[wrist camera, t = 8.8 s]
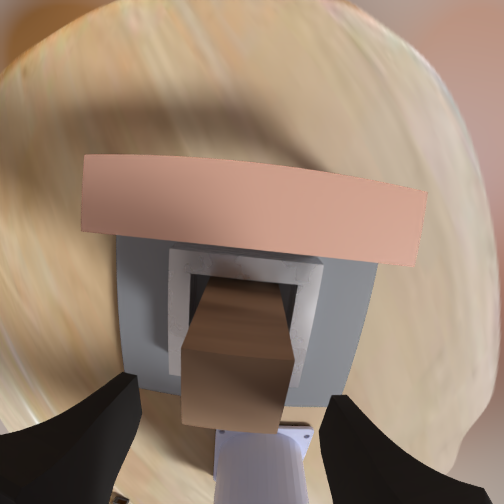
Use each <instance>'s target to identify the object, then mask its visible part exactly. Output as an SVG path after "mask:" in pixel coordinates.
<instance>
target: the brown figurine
mask: <svg viewBox="0 0 504 504" xmlns="http://www.w3.org/2000/svg"><path fill="white" fill-rule="evenodd" d="M128 503H129V500H128V499H124V498H120V497H116V498H115V499H114V501H113V504H128Z"/></svg>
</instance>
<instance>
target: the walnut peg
mask: <svg viewBox="0 0 504 504" xmlns="http://www.w3.org/2000/svg"><path fill="white" fill-rule="evenodd" d="M294 363H295V358H294V353H293V349H292V344H291V339H290V334H289V330H288V325H287V321H286V316H285V311H284V307H283V302H282V298H281V293H280V288H279V284H277V283H267V282H258V281H250V280H241V279H232V278H224V277H215V276H210V278H209V281H208V283H207V285H206V288H205V290H204V293H203V295H202V297H201V300H200V302H199V305H198V307H197V310H196V312H195V314H194V317H193V319H192V322H191V324H190V327H189V329H188V332H187V334H186V337H185V339H184V342H183V344H182V347H181V418H182V424H184V425H190V426H197V427H203V428H211V429H219V430H227V431H237V432H249V433H263V434H277V431H278V427H279V424H280V420H281V416H282V412H283V408H284V404H285V400H286V396H287V392H288V388H289V384H290V380H291V376H292V371H293V367H294Z"/></svg>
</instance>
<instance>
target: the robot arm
mask: <svg viewBox="0 0 504 504" xmlns="http://www.w3.org/2000/svg"><path fill="white" fill-rule="evenodd" d="M141 415H142V408H141V401H140V394H139V386H138V377H137V375H134V374H130V373H125V372H122V373H120V374H119V375H117V376H116V377H115V378H113V379H112V380H111V381H109V382H108V383H107V384H105V385H104V386H103V387H101V388H100V389H99V390H97V391H96V392H94V393H93V394H91V395H90V396H89V397H87V398H86V399H84V400H83V401H81V402H80V403H78V404H76V405H75V406H73V407H72V408H70V409H68V410H67V411H65V412H63V413H61V414H59V415H57V416H55V417H53V418H51V419H49V420H47V421H45V422H42V423H40V424H37V425H34V426H31V427H29V428H26V429H23V430H20V431H16V432H12V433H8V434H3V435H0V504H109V500H110V496H111V493H112V489H113V486H114V483H115V480H116V478H117V475H118V473H119V471H120V469H121V466H122V464H123V462H124V460H125V457H126V455H127V453H128V451H129V449H130V446H131V444H132V442H133V440H134V437H135V435H136V432H137V429H138V426H139V422H140V419H141ZM313 433H314V429H313V427H311V426H279V427H278V431H277V434H263V433H249V432H237V431H227V430H224V431H221V430H219V429H216V438H215V456H214V475H213V480H214V481H216V486H215V494H214V504H309V500H308V493H307V486H306V479H305V473H304V466H303V460H304V457H305V454H306V452H307V449H308V447H309V444H310V441H311V439H312V436H313ZM319 439H320V448H321V455H322V459H323V463H324V467H325V471H326V475H327V479H328V483H329V487H330V491H331V495H332V499H333V504H492V502H491V500H490V498H489V496H488V495H487V493H486V491H485V490H484V488H481V487H477V486H474V485H471V484H467V483H464V482H461V481H458V480H455V479H453V478H451V477H448V476H446V475H444V474H441V473H439V472H437V471H435V470H434V469H432V468H430V467H428V466H426V465H425V464H423V463H421V462H420V461H418V460H416V459H415V458H414V457H412V456H411V455H409V454H408V453H406V452H405V451H404V450H402V449H401V448H400V447H399V446H397V445H396V444H395V443H394V442H393V441H392V440H390V439H389V438H388V437H387V436H386V435H385V434H384V433H383V432H382V431H381V430H380V429H378V428H377V427H376V426H375V425H374V424H373V423H372V422H371V420H370V419H369V418H368V417H367V416H366V415H365V414H364V413H363V412H362V411H361V410H360V409H359V408H358V407H357V405H356V404H355V403H354V402H353V401H352V400H351V399H350V398H349V397H348V396H347V395H331V398H330V401H329V404H328V407H327V409H326V412H325V415H324V418H323V421H322V424H321V426H320V429H319Z"/></svg>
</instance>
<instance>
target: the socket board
mask: <svg viewBox="0 0 504 504" xmlns="http://www.w3.org/2000/svg"><path fill="white" fill-rule="evenodd" d="M427 195H428V192H425V191H421V190H417V189H412V188H408V187H403V186H399V185H394V184H389V183H384V182H379V181H374V180H369V179H364V178H358V177H353V176H347V175H341V174H336V173H329V172H323V171H317V170H310V169H303V168H296V167H288V166H281V165H273V164H264V163H255V162H246V161H236V160H224V159H212V158H199V157H183V156H163V155H130V154H85V155H84V167H83V182H82V208H81V231H83V232H93V233H103V234H112V235H116V266H117V295H118V312H119V325H120V337H121V347H122V356H123V364H124V372H125V373H130V374H134V375H137V377H138V386H139V388H142V389H147V390H152V391H157V392H163V393H168V394H174V395H180V396H181V347H182V344H183V342H184V339H185V337H186V334H187V332H188V329H189V327H190V324H191V322H192V319H193V317H194V314H195V312H196V310H197V307H198V305H199V302H200V300H201V297H202V295H203V293H204V290H205V288H206V285H207V283H208V281H209V278H210V276H215V277H224V278H232V279H241V280H250V281H258V282H267V283H277V284H279V288H280V293H281V298H282V302H283V307H284V311H285V316H286V321H287V325H288V330H289V334H290V339H291V344H292V349H293V353H294V358H295V363H294V367H293V371H292V376H291V380H290V384H289V388H288V392H287V396H286V400H285V404H284V406H293V407H328V404H329V401H330V398H331V395H342V392H343V390H344V387H345V384H346V381H347V378H348V375H349V372H350V369H351V365H352V362H353V359H354V356H355V352H356V349H357V346H358V342H359V339H360V335H361V332H362V328H363V324H364V321H365V317H366V313H367V309H368V305H369V301H370V297H371V293H372V289H373V284H374V280H375V276H376V271H377V266H378V263H383V264H392V265H401V266H410V267H414V266H415V262H416V257H417V253H418V248H419V243H420V238H421V232H422V227H423V221H424V215H425V209H426V202H427Z"/></svg>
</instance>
